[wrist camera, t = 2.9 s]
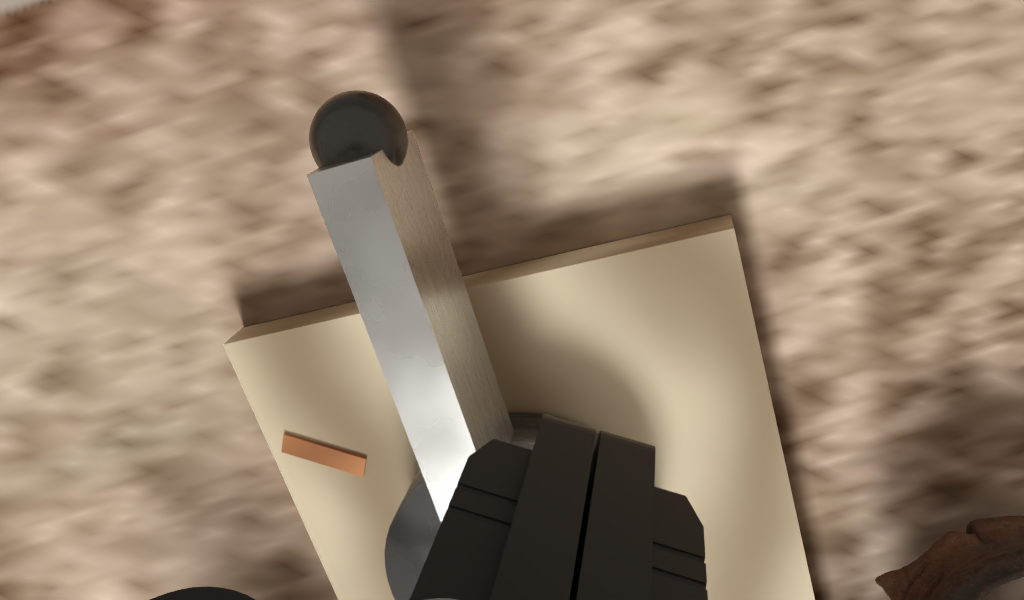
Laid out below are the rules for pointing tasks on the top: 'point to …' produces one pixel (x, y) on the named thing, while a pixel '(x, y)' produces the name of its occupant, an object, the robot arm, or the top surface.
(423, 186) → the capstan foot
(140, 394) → the top surface
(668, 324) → the beige flat square slab
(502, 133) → the top surface
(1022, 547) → the brown curved loop piece
